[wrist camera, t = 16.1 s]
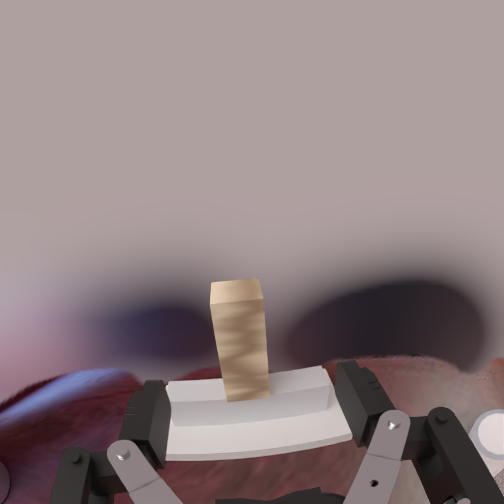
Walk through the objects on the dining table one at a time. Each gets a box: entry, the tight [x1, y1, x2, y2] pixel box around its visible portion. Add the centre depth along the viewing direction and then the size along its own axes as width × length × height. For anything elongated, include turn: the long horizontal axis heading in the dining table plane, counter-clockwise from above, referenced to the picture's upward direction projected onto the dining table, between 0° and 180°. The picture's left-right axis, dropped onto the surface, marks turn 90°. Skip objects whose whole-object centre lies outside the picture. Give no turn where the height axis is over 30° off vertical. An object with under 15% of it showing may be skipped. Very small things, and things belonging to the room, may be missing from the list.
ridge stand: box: [166, 366, 353, 461], centre depth 32 cm, size 22×12×6 cm, turn 95°
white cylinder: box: [469, 409, 504, 477], centre depth 17 cm, size 7×7×7 cm
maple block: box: [210, 278, 270, 402], centre depth 29 cm, size 4×4×12 cm
